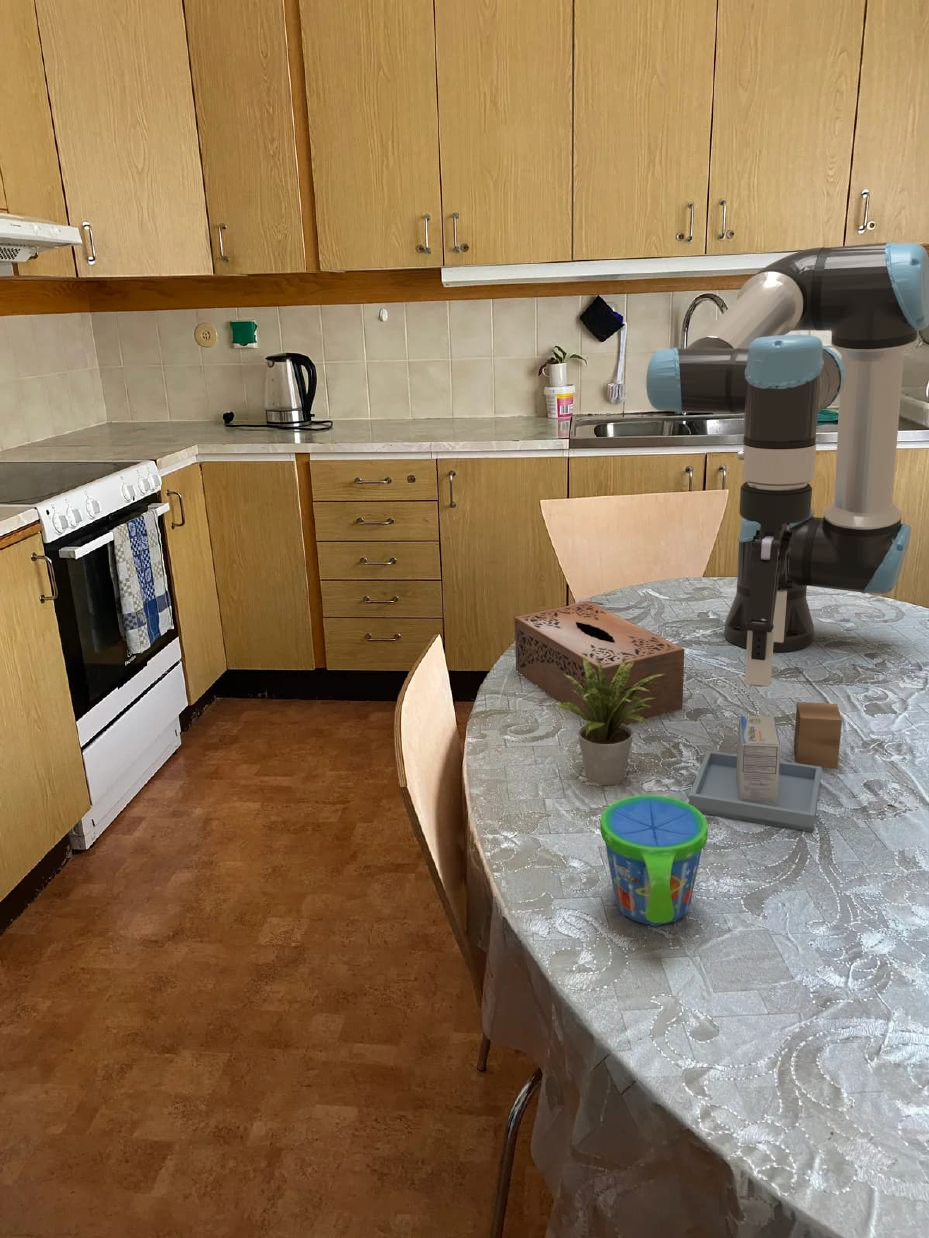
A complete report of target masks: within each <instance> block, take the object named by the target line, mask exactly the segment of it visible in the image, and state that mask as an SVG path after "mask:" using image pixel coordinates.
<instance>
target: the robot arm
mask: <svg viewBox="0 0 929 1238" xmlns="http://www.w3.org/2000/svg"><path fill="white" fill-rule="evenodd" d="M928 327H929V254H928V252H927V250H926V249H925V247H924V246H922V245H921V244H919V243H916V242H915V243H913V242H912V243H911V242H907V243H906V242H893V241H891V242H882V243H881V242H878V243H869V244H867V243H866V244H855V245H853V244H852V245H842V246H833V247H813V248H807V249H804V250H800V251H797V252H793V253H792V254H789V255H786V256H784V257H782V258H780V259H778V260H775V261H774V262H772V263H770V264H768V265H766V266H765V267H763V268H762V269H760V270H758V271H757V272H756V273H755V274H754V275H752V276H751V277H749V279H748V280H747V281H745V283H744V284H743V285H742V287H741V288H740V290H739V292H738V295H737V297H736V300H735V302H734V303H733V304H731V306H729V307H728V308H727V310H726V311H724V312H723V313H722V314H721V315H720V316H719V317H718V318H717V319H716V320H715V321H714V322H713V323H712V324H711V325H709V327H708V328H706V329H705V330H704V331H703V332H702V333H701V334H700V335H699V336H698V337H697V338H696V339H695V340H694V341H692V343H691V344H689V346H688V347H686V348H678V347H673V348H665V349H659V350H657V351H656V352H655V353H653V355H652V356H651V358H650V361H649V364H648V365H647V371H646V378H645V381H646V383H645V384H646V385H645V388H646V396H647V398H648V402H649V403H650V405H651V406H652V408H653V409H655V410H658V411H664V412H677V413H678V414H681V413H702V414H703V413H706V414H707V413H708V414H713V413H714V414H720V413H721V414H742V415H743V414H744V417H743V418H744V420H743V421H744V422H743V438H742V439H743V441H742V443H743V447H742V449H743V450H742V451H738V452H737V454H736V458H737V460H739V461H743V463H742V467H741V479H742V480H744V481H745V482H744V483H742V485H741V486H740V491H739V492H740V494H739V495H740V496H739V511H738V512H739V515H740V517H741V518H742V519H741V522H740V529H739V537H738V538H737V542H738V553H737V576H736V577H737V578H736V593H735V596H734V598H733V601H732V604H731V607H730V609H729V611H728V614H727V617H726V618H725V621H724V628H723V630H724V631H723V636H724V638H725V639H726V640H727V641H728V642H729V643H732V644H734V645H736V646H737V647H738V646H739V647H741V648H744V649H746V652H745V655H746V656H745V669H744V670H745V671H744V672H745V673H744V684H748V685H758V686H764V687H765V686H766V687H767V686H768V687H771V684H772V682H771V681H772V668H773V656H774V655H773V654H774V653H775V652H776V653H779V652H780V653H782V652H791V651H793V652H794V651H798V650H801V649H804V648H807V647H809V646H810V645H811V644H813V642H814V637H815V636H814V635H815V626H814V623H813V617H812V614H811V610H810V607H809V603H808V600H807V599H808V598H807V590H808V589H807V586H808V587H815V588H822V589H823V588H824V589H828V590H829V589H830V590H840V591H847V592H855V593H861V594H863V595H865V594H868V593H869V594H880V595H886V594H888V593H890V592H891V591H893V590H894V589H895V588H896V585H897V583H898V580H899V578H900V575H901V571H902V568H903V566H904V561H905V558H906V554H907V552H908V547H909V543H910V538H911V535H912V534H911V533H912V532H911V531H912V526H911V525H909V524H907V523H906V522H902V510H900V508H899V507H898V506H896V505H895V504H894V503H893V497H894V496H893V494H894V481H895V473H896V471H895V469H896V459H897V458H896V457H897V447H898V432H899V424H900V423H899V421H900V408H901V395H902V384H903V372H904V358H905V354H906V351H907V350H909V348H911V347H912V346H913V345H914V344H915V343H916V342H917V340H918V333H919V332H920V331H923V330H924V329H926V328H928ZM793 331H795V332H797V331H819V332H820V331H821V332H822V331H830V332H831V339H830V340H831V344H830V345H831V347H832V348H833V349H835V351H837V352H838V353H839V354H840V355H841V357H840V356H839V355H838V354H837V353H836V352H835V351H834V350H832V349H831V348H829V347H826V346H823V342H822V340H821V339H820V338H819V337H818V336H815V335H812V334H811V335H809V334H789V333H790V332H793ZM918 331H919V332H918ZM838 396H839V397H838ZM837 398H839V399H838V400H839V401H838V419H837V439H836V440H837V441H836V454H835V455H836V460H835V476H834V479H835V480H834V496H833V497H834V498H833V502H831V504H830V505H828V506H827V507H826V508H825V509H824V511H823V517H817V516H814V515H815V512H814V511H813V508H812V496H813V486H811V484H810V482H811V481H812V480H814V477H815V475H814V474H815V464H816V455H817V454H816V451H817V443H816V439H817V426H818V416H819V412H822V411H823V410H827V408H828V407H830V406H831V405H832V404H833V403H834V402H835V400H836V399H837Z"/></svg>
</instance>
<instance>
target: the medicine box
mask: <svg viewBox="0 0 929 1238" xmlns="http://www.w3.org/2000/svg"><path fill="white" fill-rule="evenodd" d="M737 727H738V729H737V733H738V734H737V751H736V753H737V754H736V755H737V770H736V774H737V783H738V792H739V801H744V802H750V803H756V804H762V805H768V806H774V807H777V797H778V780H779V762H780V761H781V760H780V759H781V742H780V739H779V738H780V737H779V733H778V726H777V722H776V718H775V717H773V716H763V715H762V716H761V715H740V716H739V719H738V726H737Z"/></svg>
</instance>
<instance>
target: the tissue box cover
mask: <svg viewBox="0 0 929 1238" xmlns="http://www.w3.org/2000/svg"><path fill="white" fill-rule="evenodd" d="M514 644H515V647H514V649H515V650H514V651H515V652H514V653H515V672H516V671H518V673H520V674H522V675H523V676H524V677H525V678H524V677H523V676H522V677H523V678H524V679H526V678H527V679H528V680H529V681H528V680H527V679H526V680H527V681H528V682H530V681H531V682H532V683H531V682H530V683H531V684H533V685H534V684H535V685H534V686H536V685H537V686H538V687H537V686H536V687H537V688H538V689H540V688H541V689H542V690H541V689H540V690H541V691H543V692H544V691H546V692H545V693H546V694H547V693H548V694H547V695H548V696H550V695H551V696H552V697H551V696H550V697H551V698H553V699H554V698H555V699H554V700H556V701H557V702H559V703H560V702H561V703H563V702H570V703H572V704H574V705H576V706H578V707H580V708H581V709H582V710H584V711H585V712H586V713H587V715H588V716H589V717H590V719H591V720H592V717H591V715H590V712H589V711H588V709H587V707H586V706H585V704H584V702H583V699H582V698H583V697H582V695H581V694H580V692H579V691H578V690H577V689H576V688H575V687H574V685H573V684H572V682H571V681H570V680H569V679H568V678H567V677H566V676H565V675H564V674H566V675H569V676H571V677H572V678H573V679H575V680H576V681H577V682H578V683H579V684H580V685H581V686H582V687H583V689H584V690H585V691H586V693H588V690H587V680H585V679H586V675H585V670H584V665H583V657H585V658H586V659H587V660H588V661H589V663H590V665H591V667H592V668H593V669H594V671H595V672H596V675H597V679H598V684H599V686H600V680H599V668H598V658H599V660H600V662H601V664H602V668H603V671H604V674H605V677H606V682H607V692H608V689H609V686H610V684H611V681H612V679H613V677H614V676H615V674H616V672H617V670H618V668H619V666H620V664H621V663H622V661H623V659H624V658H625V666H626V665H627V664H628V663H630V662H631V661H633V660H635V661H634V664H633V666H632V667H631V669H630V672H629V678H628V680H627V682H626V683H625V685H624V687H623V689H625V688H628V687H631V686H633V685H635V684H636V683H638V682H639V681H641V680H643V679H645V678H647V677H650V676H653V675H658V674H664V675H662V676H658V677H655V678H652V679H650V680H649V681H647V682H657V683H654V684H648V685H645V686H644V687H643V688H645V689H647V690H649V691H644V690H638V691H637V692H636V693H635V694H634V695H633V696H635V697H639V698H640V700H641V699H645V698H654V697H657V698H654V699H649V700H647V701H645V702H646V703H645V702H643V703H644V704H646V705H648V706H650V707H646V708H643V709H640V710H638V711H635V712H633V713H631V714H635V715H640V716H642V717H643V718H644V719H645V720H648V719H650V718H654V717H657V716H658V717H659V716H662V715H665V714H670V713H674V712H677V711H680V710H683V704H684V676H685V675H684V673H685V672H684V671H685V648H684V647H682V646H680V645H678V644H676V643H673V642H672V641H670V640H668V639H666V638H663V637H662V636H660V635H658V634H655V633H654V632H651V631H650V630H648V629H645V628H644V627H642V626H639V625H637V624H635V623H633V622H632V621H630V620H627V619H625V618H623V617H621V616H619V615H618V614H615V613H613V612H611V611H609V610H607V609H605V608H603V607H601V606H599V605H597V604H595V603H592V602H590V601H587V602H586V601H585V602H581V603H577V604H571V605H567V606H562V607H557V608H552V609H548V610H541V611H538V612H533V613H528V614H523V615H519V616H514ZM625 666H624V667H625ZM518 673H517V674H518ZM563 673H564V674H563ZM666 673H668V674H666ZM520 674H519V675H520ZM623 689H622V690H623ZM573 690H574V691H576V692H577V693H578V694H579V695H580V696H581V697H582V698H581V697H580V696H579V695H578V694H577V693H576V692H574V691H573ZM650 691H651V692H650ZM625 693H626V692H625ZM625 693H624V694H625ZM624 694H622V695H621V696H620V697H619V698H618V700H617V703H618V701H619V700H620V699H621V698H622V697H623V695H624ZM630 694H631V693H630ZM630 694H629V695H630ZM629 695H628V696H627V697H629ZM589 697H590V696H589ZM627 697H626V698H627ZM640 700H634V701H632V702H633V703H632V702H629V703H627V704H626V706H625V707H624V709H623V710H622V712H623V711H624V710H625V709H626V708H628V707H629V706H631V705H632V704H635V703H637V702H639V701H640ZM617 703H616V704H617ZM572 712H573V713H574V714H575V715H577V716H578V717H580V718H582V719H583V720H585V722H586V721H587V719H586V718H585V717H584V716H582V715H581V714H580V713H578V712H575V711H572ZM622 712H621V713H622ZM621 713H620V714H621ZM618 717H619V716H618ZM633 720H634V719H631V718H626V719H625V720H624V721H623V722H622V724H625V725H626V724H627V723H629V722H630V723H629V724H633V723H637V722H638V721H637V720H634V721H633ZM592 721H593V720H592ZM627 725H628V724H627Z"/></svg>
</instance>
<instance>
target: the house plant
mask: <svg viewBox="0 0 929 1238" xmlns="http://www.w3.org/2000/svg"><path fill="white" fill-rule="evenodd" d="M634 661H635V660H633V661H631V662H630V663H628V664H627V665H626V666H625V658H624V659H623V661H622V663H621V664H620V666H619V668H618V670H617V672H616V674H615V676H614V677H613V679H612V681H611V684H610V686H609V689H608V692H607V682H606V677H605V674H604V671H603V668H602V664H601V662H600V660H599V658H598V668H599V680H600V686H599V684H598V679H597V675H596V672H595V671H594V669H593V668H592V667H591V665H590V663H589V661H588V660H587V659H586V658H585V657H583V665H584V670H585V675H586V679H585V680H587V690H588V693H586V691H585V690H584V689H583V687H582V686H581V685H580V684H579V683H578V682H577V681H576V680H575V679H573V678H572V677H571V676H569V675H566V674H564V673H563V674H564V675H565V676H566V677H567V678H568V679H569V680H570V681H571V682H572V684H573V685H574V687H575V688H576V689H577V690H578V691H579V692H580V694H581V695H582V697H583V698H582V697H581V696H580V695H579V694H578V693H577V692H576V691H574V690H573V691H574V692H576V693H577V694H578V695H579V696H580V697H581V698H582V699H583V702H584V704H585V706H586V707H587V709H588V711H589V712H590V715H591V717H592V720H593V721H592V720H591V719H590V717H589V716H588V715H587V713H586V712H585V711H584V710H582V709H581V708H580V707H578V706H576V705H574V704H572V703H570V702H563V703H560V702H559V703H558V704H557V705H556V707H559V708H561V709H564V710H565V709H566V710H569V711H571V712H573V711H575V712H578V713H580V714H581V715H582V716H584V717H585V718H586V719H587V721H586V720H585V723H584V724H583V725H581V726H580V727H579V728H578V730H577V736H578V740H579V741H578V742H579V746H580V751H581V757H582V762H583V767H584V773H585V776H586V778H587V780H588V782H589V781H590V782H591V783H594V784H596V785H597V784H598V785H604V786H611V785H616V784H619V783H620V782H622V781H624V780H625V777H626V774H627V773H626V772H627V768H628V763H629V757H630V752H631V747H632V741H633V736H634V731H633V729H632V727H631V728H630V727H629V725H630V724H631V723H630V722H629V723H627V724H626V725H625V724H622V722H623V721H624V720H625V719H626V718H631V719H634V720H637V722H640V723H642V724H644V725H645V726H646V727H649V725H648V722H647V719H644V718H643V717H642V716H640V715H635V714H631V713H633V712H635V711H638V710H640V709H643V708H646V707H650V706H648V705H646V704H644V703H643V702H645V701H647V700H649V699H654V698H657V697H654V698H645V699H641V700H640V698H639V697H635V696H633V695H634V694H635V693H636V692H637V691H638V690H644V691H649V690H647V689H645V688H643V687H644V686H645V685H648V684H654V683H657V682H647V681H649V680H650V679H652V678H655V677H658V676H662V675H664V674H658V675H653V676H650V677H647V678H645V679H643V680H641V681H639V682H638V683H636V684H635V685H633V686H631V687H628V688H625V689H623V687H624V685H625V683H626V682H627V680H628V678H629V672H630V669H631V667H632V666H633V664H634ZM624 666H625V667H624ZM666 674H668V673H666ZM622 689H623V690H622ZM625 692H626V693H625ZM650 692H651V691H650ZM624 693H625V694H624ZM630 693H631V694H630ZM622 694H624V695H623V697H622V698H621V699H620V700H619V701H618V703H617V700H618V698H619V697H620V696H621V695H622ZM629 694H630V695H629ZM628 695H629V697H627V696H628ZM589 696H590V697H589ZM626 697H627V698H626ZM634 700H640V701H639V702H637V703H635V704H632V705H631V706H629V707H628V708H626V709H625V710H624V711H623V712H622V710H623V709H624V707H625V706H626V704H627V703H629V702H632V701H634ZM616 703H617V704H616ZM632 703H633V702H632ZM645 703H646V702H645ZM621 712H622V713H621ZM620 713H621V714H620ZM618 716H619V717H618ZM634 720H633V721H634Z"/></svg>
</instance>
